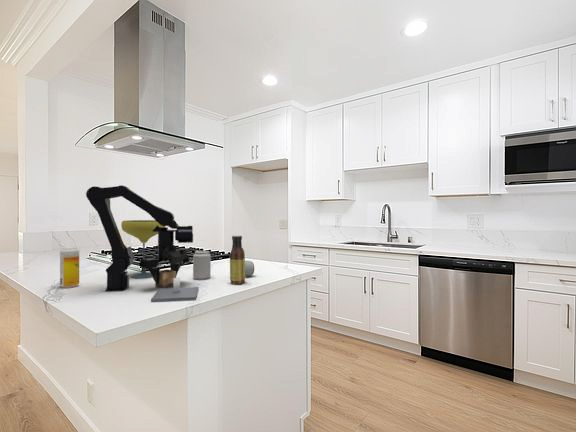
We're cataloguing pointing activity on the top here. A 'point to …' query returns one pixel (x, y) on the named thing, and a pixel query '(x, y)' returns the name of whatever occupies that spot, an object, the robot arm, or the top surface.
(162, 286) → the oak sleeve
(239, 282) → the sauce bottle
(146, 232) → the cocktail glass
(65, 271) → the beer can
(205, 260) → the can
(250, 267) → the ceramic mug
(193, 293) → the pin board
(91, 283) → the top surface
